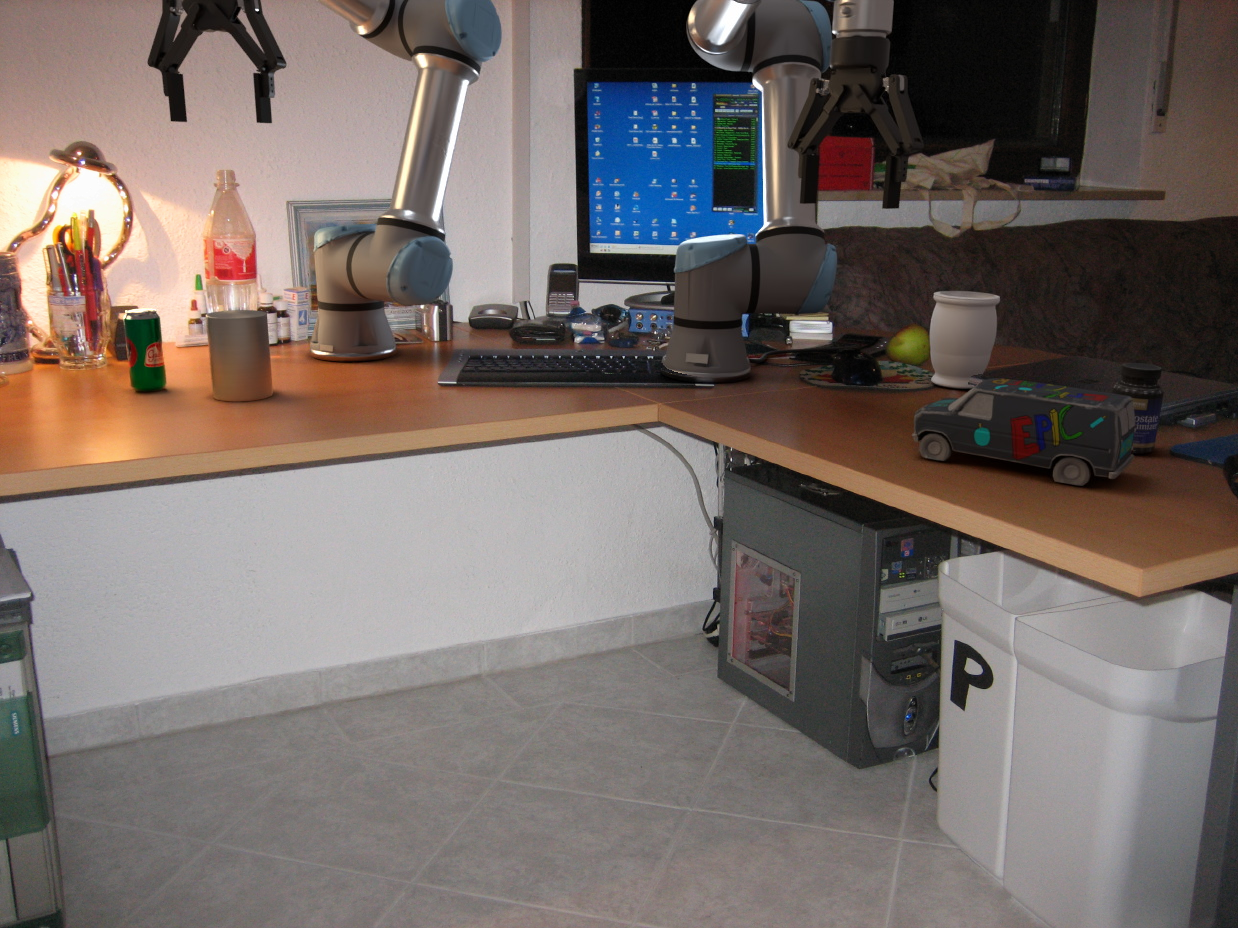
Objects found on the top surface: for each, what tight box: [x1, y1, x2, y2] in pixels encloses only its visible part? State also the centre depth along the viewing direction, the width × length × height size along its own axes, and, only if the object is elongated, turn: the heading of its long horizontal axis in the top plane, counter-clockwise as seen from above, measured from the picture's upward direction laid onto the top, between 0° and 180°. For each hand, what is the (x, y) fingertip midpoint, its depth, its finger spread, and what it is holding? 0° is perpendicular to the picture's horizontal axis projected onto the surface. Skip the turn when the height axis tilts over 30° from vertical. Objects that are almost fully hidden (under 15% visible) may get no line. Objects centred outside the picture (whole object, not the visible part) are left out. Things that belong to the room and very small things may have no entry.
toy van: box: [911, 377, 1136, 487], centre depth 131 cm, size 11×25×10 cm, turn 54°
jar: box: [929, 290, 1001, 390], centre depth 176 cm, size 11×10×15 cm
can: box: [205, 309, 274, 403], centre depth 160 cm, size 9×9×12 cm
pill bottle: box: [1111, 362, 1165, 455], centre depth 139 cm, size 6×6×11 cm
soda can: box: [123, 308, 168, 392], centre depth 162 cm, size 5×5×12 cm
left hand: (221, 123), depth 151 cm, fingers open, 13 cm apart
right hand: (847, 206), depth 144 cm, fingers open, 13 cm apart
